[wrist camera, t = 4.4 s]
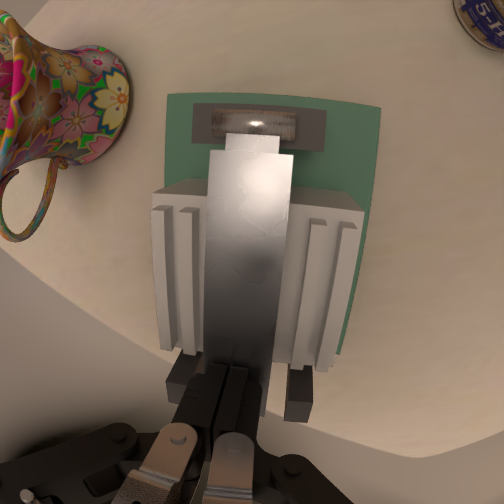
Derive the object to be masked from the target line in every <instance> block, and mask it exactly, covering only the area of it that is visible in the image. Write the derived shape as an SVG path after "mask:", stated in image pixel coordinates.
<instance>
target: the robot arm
mask: <svg viewBox="0 0 504 504" xmlns="http://www.w3.org/2000/svg"><path fill="white" fill-rule="evenodd" d="M228 369H229V366H227V365H220V364H213V363H211V365H210V367H209V370H208V373H207V374H202V373H197V374H195V375H194V376H193V377H192V378H191V379H190V380H189V382H188V384H187V387H186V390H185V391H184V394H183V397H182V398H181V401H180V403H179V406H178V408H177V411H176V413H175V415H174V418H173V420H172V422H171V424H169V425H167V426H165V427H163V428H162V430H161V431H160V432H155V433H137V432H136V430H135V429H134V428H133V427H131V426H130V425H128V424H125V423H113V424H110V425H108V426H106V427H103V428H101V429H98V430H96V431H93V432H91V433H88V434H86V435H83V436H80V437H78V438H75V439H73V440H70V441H67V442H65V443H62V444H59V445H57V446H54V447H51V448H48V449H45V450H42V451H39V452H36V453H33V454H30V455H27V456H24V457H21V458H18V459H15V460H11V461H8V462H5V463H1V464H0V504H101V503H103V502H106V501H108V500H110V499H113V498H114V500H113V502H112V503H111V504H190V503H191V500H192V498H193V495H194V493H195V490H196V487H197V485H198V482H199V480H200V477H201V471H202V467H203V463H204V461H207V462H211V467H210V473H209V479H208V484H207V488H206V489H205V492H204V496H203V502H202V504H252V500H254V501H257V502H259V503H262V504H354V503H352V502H351V501H350V500H349V499H348V498H347V497H346V496H345V495H344V494H343V493H342V492H340V490H339V489H337V488H336V487H335V486H334V485H333V484H332V483H331V482H330V481H329V480H328V479H327V478H326V477H325V476H324V475H323V474H322V473H321V472H320V471H319V470H318V469H317V468H316V467H315V466H314V465H313V464H312V463H311V462H310V461H309V460H308V459H306V458H305V457H303V456H300V455H296V454H288V455H284V456H281V457H277V456H274V455H271V454H269V453H267V452H265V451H264V450H263V449H261V447H260V446H259V445H258V443H257V440H256V436H257V429H258V422H259V415H260V407H261V399H262V391H263V390H262V388H261V386H260V383H259V381H251V380H247V375H248V368H243V367H235V366H231V367H230V370H229V374H228ZM211 460H212V461H211Z"/></svg>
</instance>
